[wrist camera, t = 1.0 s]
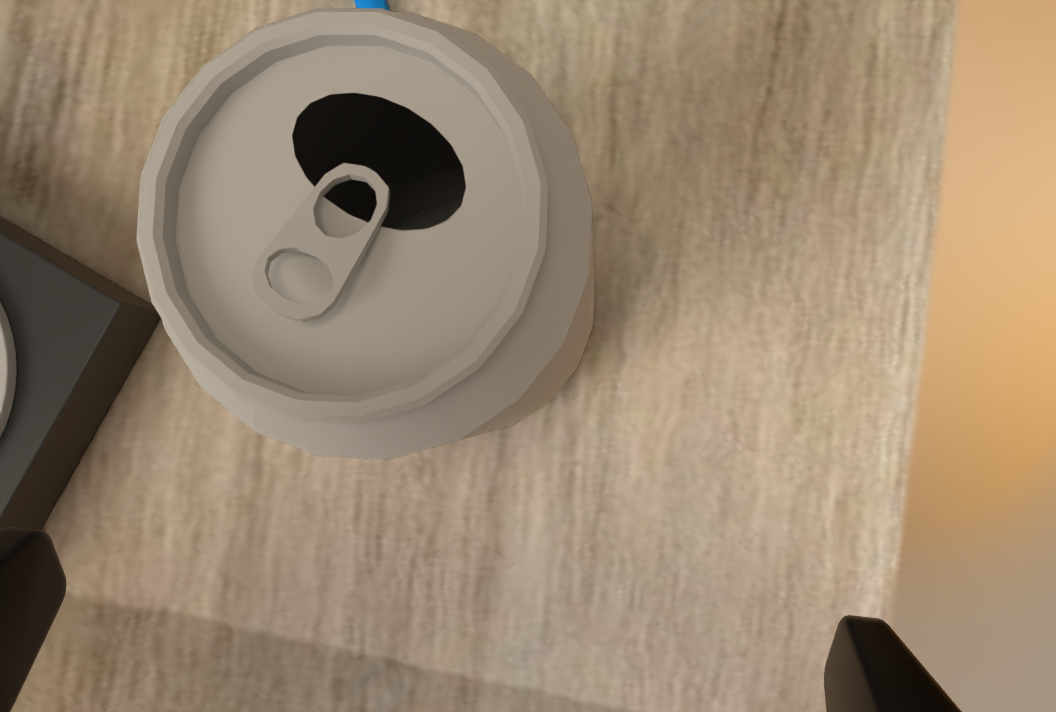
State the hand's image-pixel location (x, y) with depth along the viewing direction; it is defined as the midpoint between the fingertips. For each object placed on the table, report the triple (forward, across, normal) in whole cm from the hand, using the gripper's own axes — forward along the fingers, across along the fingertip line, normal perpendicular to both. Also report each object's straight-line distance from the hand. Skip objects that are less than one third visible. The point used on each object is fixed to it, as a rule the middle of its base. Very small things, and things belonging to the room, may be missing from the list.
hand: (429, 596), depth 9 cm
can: (+15, +2, +4) cm, 15 cm away
